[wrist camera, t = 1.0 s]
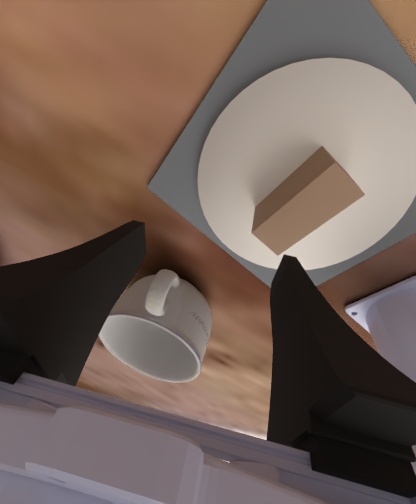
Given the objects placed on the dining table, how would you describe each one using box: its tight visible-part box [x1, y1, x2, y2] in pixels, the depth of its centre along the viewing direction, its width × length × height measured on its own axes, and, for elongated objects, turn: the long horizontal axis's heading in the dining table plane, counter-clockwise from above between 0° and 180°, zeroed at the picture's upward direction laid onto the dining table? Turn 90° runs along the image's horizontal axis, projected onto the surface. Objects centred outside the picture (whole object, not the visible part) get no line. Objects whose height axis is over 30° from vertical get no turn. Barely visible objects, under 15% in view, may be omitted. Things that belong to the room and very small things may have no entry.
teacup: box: [99, 269, 212, 383], centre depth 25 cm, size 14×11×8 cm
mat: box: [147, 0, 416, 288], centre depth 18 cm, size 18×17×1 cm
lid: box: [197, 58, 416, 270], centre depth 16 cm, size 15×15×5 cm
